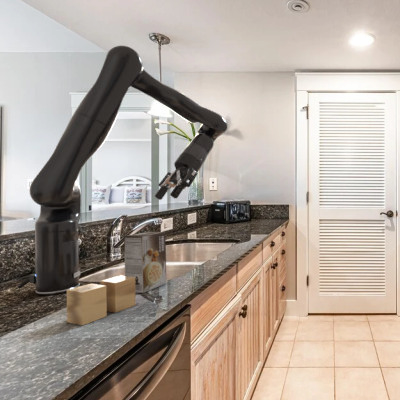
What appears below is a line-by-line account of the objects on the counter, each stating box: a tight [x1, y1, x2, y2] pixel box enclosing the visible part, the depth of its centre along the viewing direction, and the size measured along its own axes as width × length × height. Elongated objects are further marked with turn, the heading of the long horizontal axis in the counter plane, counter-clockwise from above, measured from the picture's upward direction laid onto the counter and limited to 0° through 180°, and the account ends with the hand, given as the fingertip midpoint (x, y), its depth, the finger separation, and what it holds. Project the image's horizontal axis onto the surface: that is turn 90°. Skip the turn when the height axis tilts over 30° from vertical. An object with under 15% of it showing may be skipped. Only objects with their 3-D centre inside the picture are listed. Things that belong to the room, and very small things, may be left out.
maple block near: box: [66, 283, 108, 326], centre depth 64 cm, size 5×5×7 cm
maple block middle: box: [99, 275, 136, 314], centre depth 70 cm, size 5×5×7 cm
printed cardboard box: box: [123, 231, 167, 294], centre depth 85 cm, size 9×6×16 cm
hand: (165, 197), depth 90 cm, fingers open, 8 cm apart
